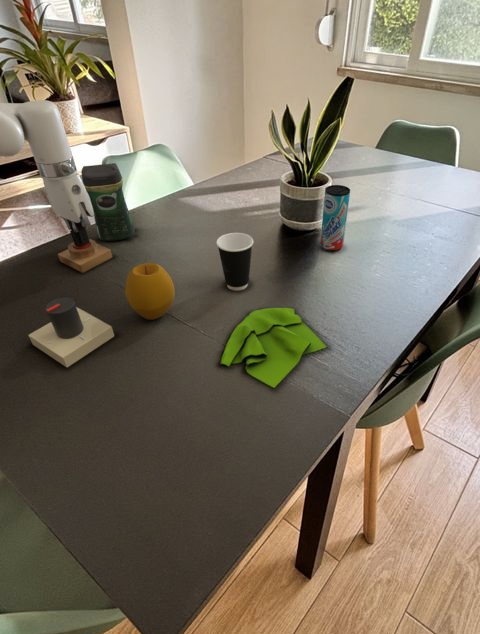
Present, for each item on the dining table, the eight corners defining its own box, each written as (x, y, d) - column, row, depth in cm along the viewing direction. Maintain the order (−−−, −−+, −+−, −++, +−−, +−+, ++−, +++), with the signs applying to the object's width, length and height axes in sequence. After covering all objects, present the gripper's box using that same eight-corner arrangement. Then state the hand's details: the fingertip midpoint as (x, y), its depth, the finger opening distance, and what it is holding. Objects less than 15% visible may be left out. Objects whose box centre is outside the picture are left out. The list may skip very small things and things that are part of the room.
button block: (60, 261, 106) (54, 247, 104) (90, 247, 112) (85, 233, 109) (82, 273, 102) (77, 258, 100) (112, 257, 108) (108, 243, 105)
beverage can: (315, 246, 111) (319, 189, 101) (330, 239, 114) (336, 182, 104) (332, 254, 108) (338, 196, 98) (347, 247, 111) (355, 190, 101)
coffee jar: (134, 226, 120) (119, 158, 108) (135, 239, 114) (119, 168, 102) (99, 231, 118) (79, 161, 106) (98, 244, 113) (77, 172, 100)
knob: (73, 319, 85) (63, 293, 81) (89, 328, 82) (79, 302, 78) (51, 332, 82) (39, 305, 78) (66, 342, 80) (54, 315, 75)
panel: (32, 344, 83) (27, 334, 81) (80, 316, 90) (76, 306, 88) (67, 367, 78) (62, 357, 76) (114, 336, 85) (111, 325, 83)
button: (73, 251, 105) (70, 245, 104) (85, 245, 107) (83, 239, 106) (82, 255, 103) (80, 249, 102) (94, 249, 106) (92, 243, 104)
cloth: (294, 302, 93) (294, 293, 91) (342, 369, 77) (343, 359, 76) (203, 323, 87) (201, 314, 86) (234, 399, 72) (234, 389, 71)
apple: (165, 333, 85) (155, 284, 77) (122, 324, 87) (108, 275, 80) (186, 305, 92) (178, 257, 84) (146, 298, 94) (134, 250, 86)
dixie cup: (213, 288, 97) (208, 244, 90) (232, 272, 102) (229, 229, 95) (242, 298, 94) (240, 253, 87) (261, 281, 99) (260, 237, 92)
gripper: (93, 168, 91) (114, 246, 103) (51, 155, 97) (76, 230, 110) (62, 179, 86) (89, 259, 99) (21, 165, 93) (51, 242, 105)
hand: (82, 244), depth 104 cm, fingers closed
